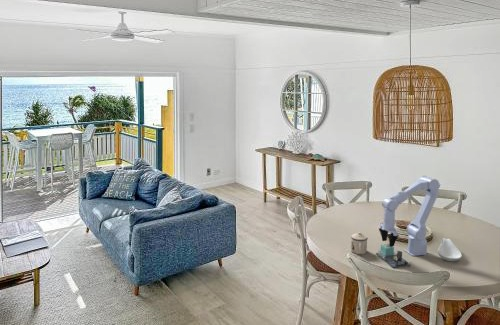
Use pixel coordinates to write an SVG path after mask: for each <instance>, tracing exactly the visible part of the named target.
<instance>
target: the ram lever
mask: <svg viewBox="0 0 500 325" xmlns="http://www.w3.org/2000/svg"><path fill="white" fill-rule="evenodd" d="M396 254H397V256H395V257H393V259H394V261H395V262H396V263H397V265H402V264H405V261H404V260H405V259H404V258H403V252H402V251H401V250H397V251H396ZM402 258H403V259H404V260H403V259H402Z"/></svg>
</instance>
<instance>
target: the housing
mask: <svg viewBox="0 0 500 325" xmlns="http://www.w3.org/2000/svg"><path fill="white" fill-rule="evenodd" d="M380 251H381V252H382V253H383V254H384V255H391V254H394V253H395V252H394V251H395V246H390V245H389V243H385V244H380Z"/></svg>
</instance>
